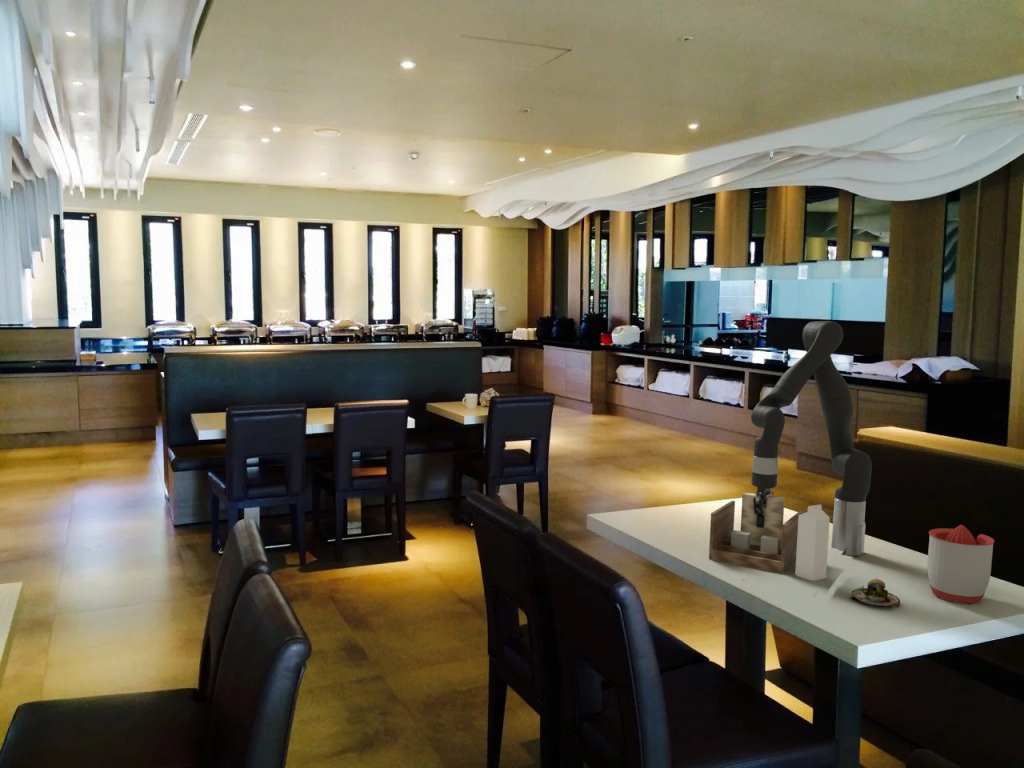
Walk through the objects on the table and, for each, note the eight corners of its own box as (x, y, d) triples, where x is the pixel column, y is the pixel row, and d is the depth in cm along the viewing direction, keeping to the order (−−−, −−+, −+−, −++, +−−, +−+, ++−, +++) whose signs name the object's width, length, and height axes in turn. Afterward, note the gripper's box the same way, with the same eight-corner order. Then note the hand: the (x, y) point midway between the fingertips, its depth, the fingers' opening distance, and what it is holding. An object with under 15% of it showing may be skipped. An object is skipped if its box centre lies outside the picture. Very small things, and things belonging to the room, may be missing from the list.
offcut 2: (779, 560, 245) (780, 538, 244) (776, 563, 242) (778, 540, 241) (762, 557, 247) (763, 535, 247) (759, 560, 245) (761, 537, 244)
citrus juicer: (999, 596, 223) (1005, 524, 221) (979, 612, 210) (985, 536, 209) (937, 581, 234) (943, 513, 232) (915, 595, 222) (920, 523, 220)
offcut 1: (749, 555, 249) (750, 533, 249) (746, 557, 247) (747, 535, 246) (733, 552, 252) (734, 530, 251) (730, 554, 250) (731, 532, 249)
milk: (825, 583, 230) (831, 506, 228) (812, 586, 227) (817, 509, 225) (807, 576, 235) (812, 501, 233) (793, 579, 232) (799, 504, 230)
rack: (800, 560, 250) (803, 511, 249) (783, 578, 233) (786, 525, 232) (729, 547, 262) (731, 500, 260) (708, 563, 245) (711, 513, 244)
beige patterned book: (781, 555, 250) (784, 497, 248) (778, 557, 248) (781, 499, 246) (742, 548, 257) (745, 492, 255) (739, 550, 254) (742, 494, 252)
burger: (843, 601, 217) (845, 574, 216) (861, 591, 225) (863, 564, 224) (889, 614, 208) (891, 585, 208) (906, 603, 217) (908, 576, 216)
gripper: (770, 476, 242) (767, 533, 243) (783, 468, 253) (780, 523, 255) (745, 472, 246) (742, 529, 247) (758, 465, 258) (756, 519, 259)
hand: (761, 525), depth 251 cm, fingers closed on beige patterned book, 3 cm apart
